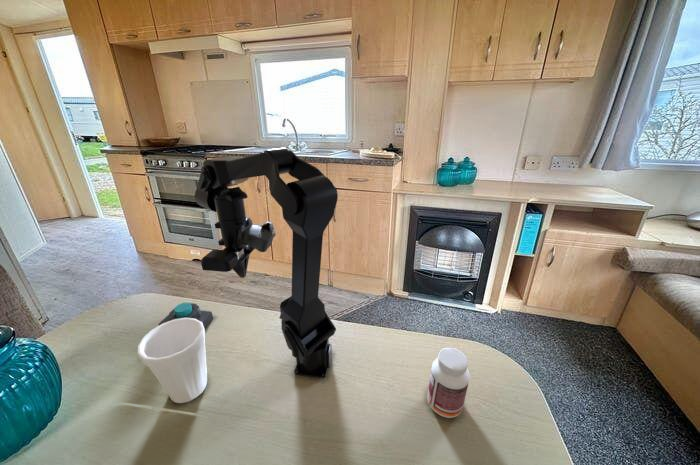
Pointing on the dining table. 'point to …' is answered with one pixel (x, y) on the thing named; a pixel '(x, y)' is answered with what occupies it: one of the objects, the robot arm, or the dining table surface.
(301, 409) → the dining table surface
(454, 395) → the pill bottle
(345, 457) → the dining table surface
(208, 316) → the dispenser
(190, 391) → the cup
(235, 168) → the robot arm
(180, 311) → the dispenser button
